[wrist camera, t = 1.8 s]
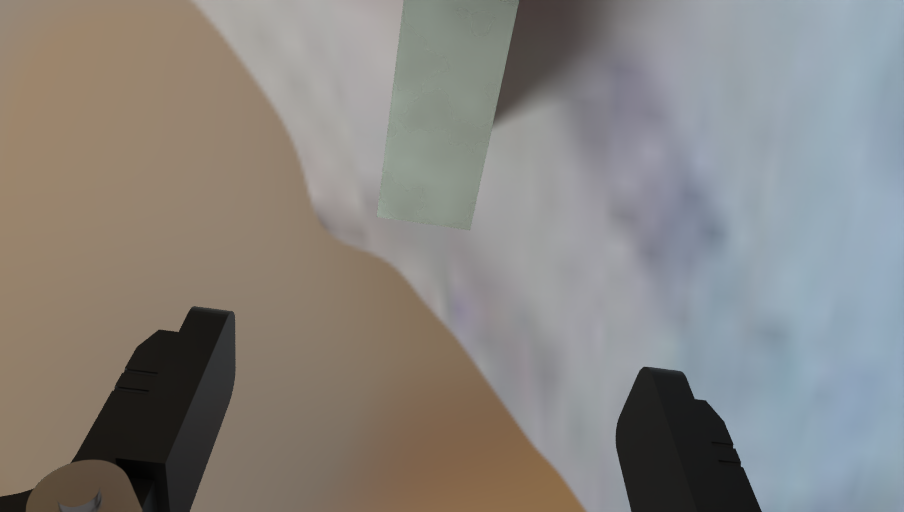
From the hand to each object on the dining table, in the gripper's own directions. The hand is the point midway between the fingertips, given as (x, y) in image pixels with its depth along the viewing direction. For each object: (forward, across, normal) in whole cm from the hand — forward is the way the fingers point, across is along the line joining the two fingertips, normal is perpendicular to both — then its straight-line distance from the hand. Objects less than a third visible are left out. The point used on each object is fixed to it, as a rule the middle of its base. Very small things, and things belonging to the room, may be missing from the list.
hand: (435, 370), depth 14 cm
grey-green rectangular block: (+24, 0, 0) cm, 24 cm away
